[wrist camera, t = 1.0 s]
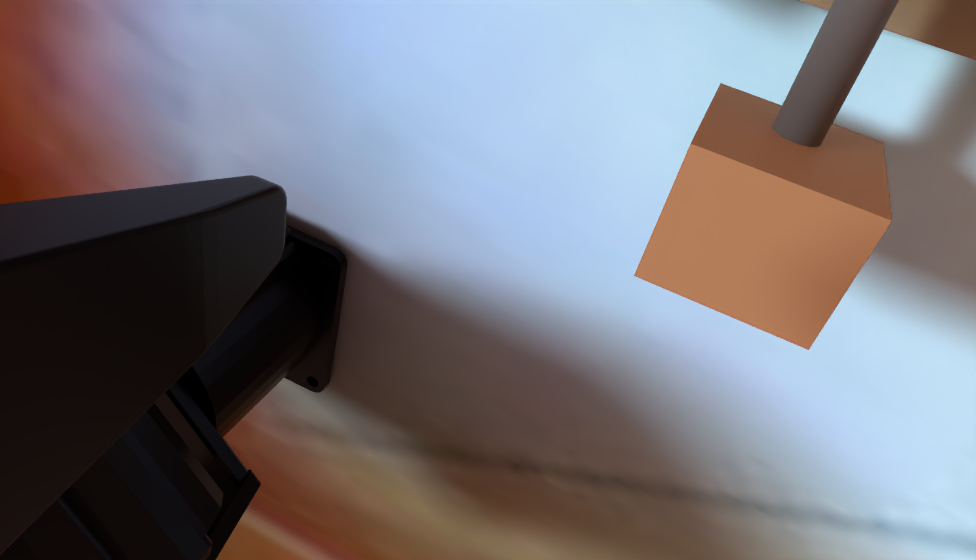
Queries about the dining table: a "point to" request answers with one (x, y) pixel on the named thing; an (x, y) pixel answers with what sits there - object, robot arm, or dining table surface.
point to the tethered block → (779, 193)
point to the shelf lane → (932, 23)
